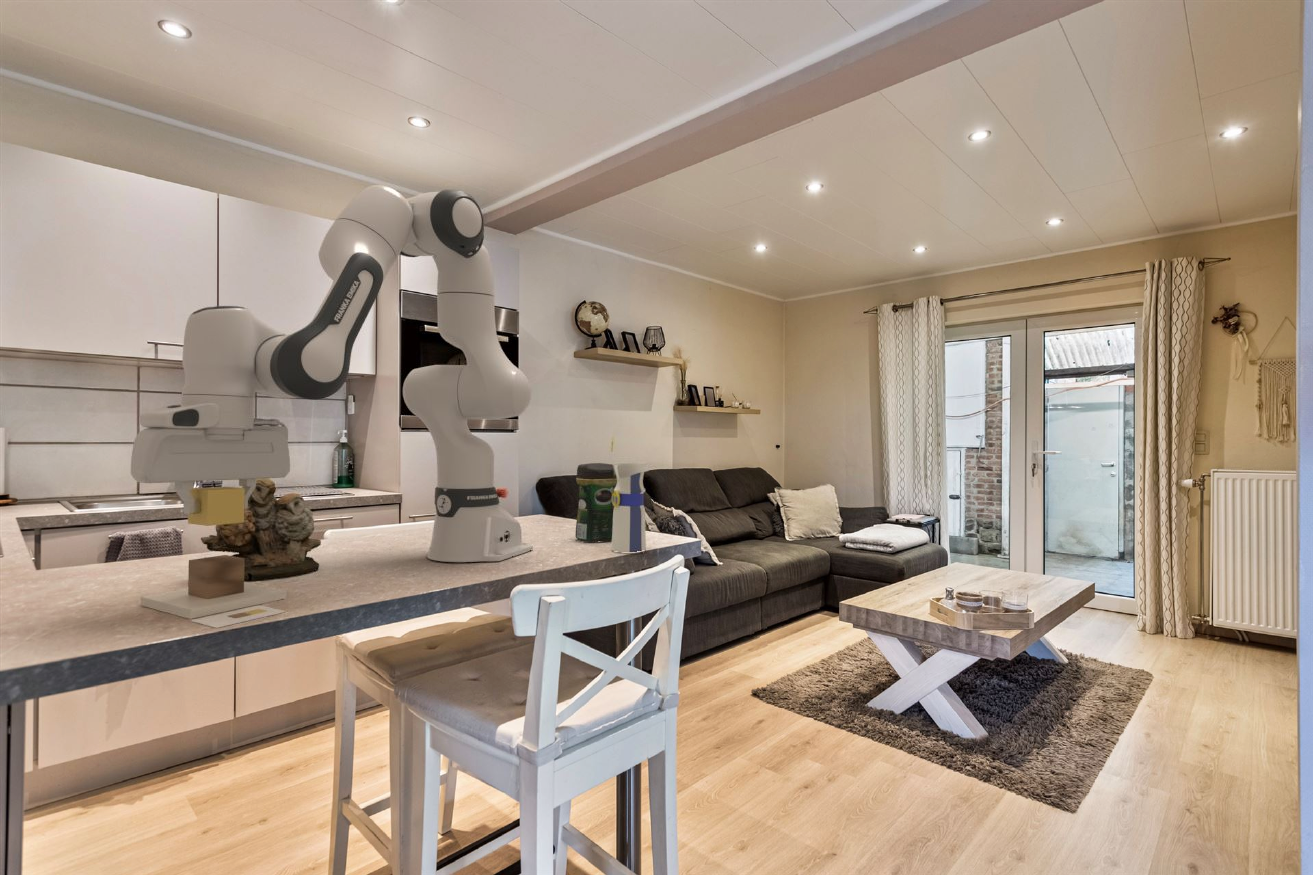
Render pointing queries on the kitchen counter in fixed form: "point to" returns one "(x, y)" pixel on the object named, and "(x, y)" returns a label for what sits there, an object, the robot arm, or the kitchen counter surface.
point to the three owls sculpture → (270, 535)
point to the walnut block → (216, 576)
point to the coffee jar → (595, 502)
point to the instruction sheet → (237, 616)
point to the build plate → (211, 601)
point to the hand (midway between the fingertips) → (216, 511)
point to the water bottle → (629, 507)
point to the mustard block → (218, 506)
